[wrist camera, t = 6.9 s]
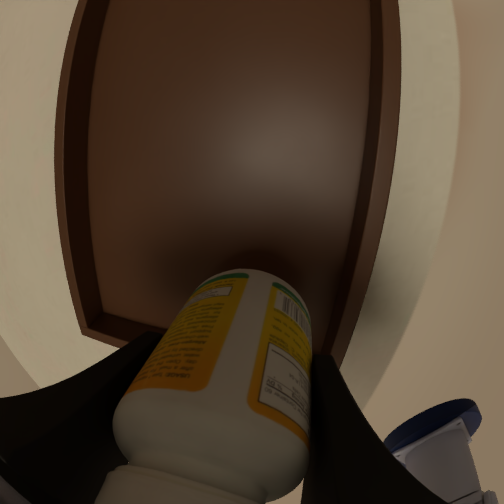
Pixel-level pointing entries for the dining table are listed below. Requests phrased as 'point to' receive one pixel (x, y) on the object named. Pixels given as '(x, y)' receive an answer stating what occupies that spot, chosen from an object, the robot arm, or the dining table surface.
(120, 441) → the supplement bottle
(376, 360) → the dining table surface
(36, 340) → the dining table surface
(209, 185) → the tray
